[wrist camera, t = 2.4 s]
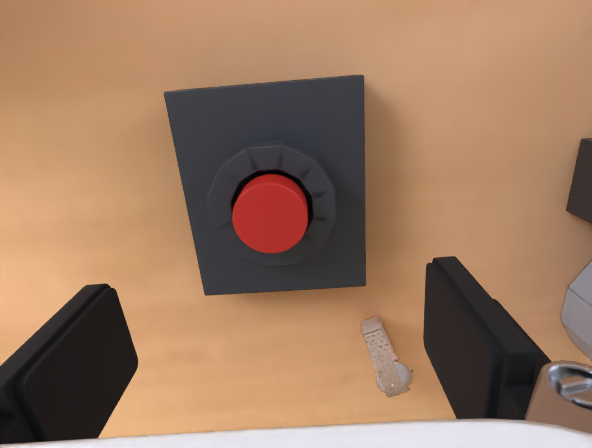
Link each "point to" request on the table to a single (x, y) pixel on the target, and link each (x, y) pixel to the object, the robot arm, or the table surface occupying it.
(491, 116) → the table surface
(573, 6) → the table surface
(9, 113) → the table surface
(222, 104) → the switch box
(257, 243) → the power button
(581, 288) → the coffee maker
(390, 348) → the perforated watch strap
